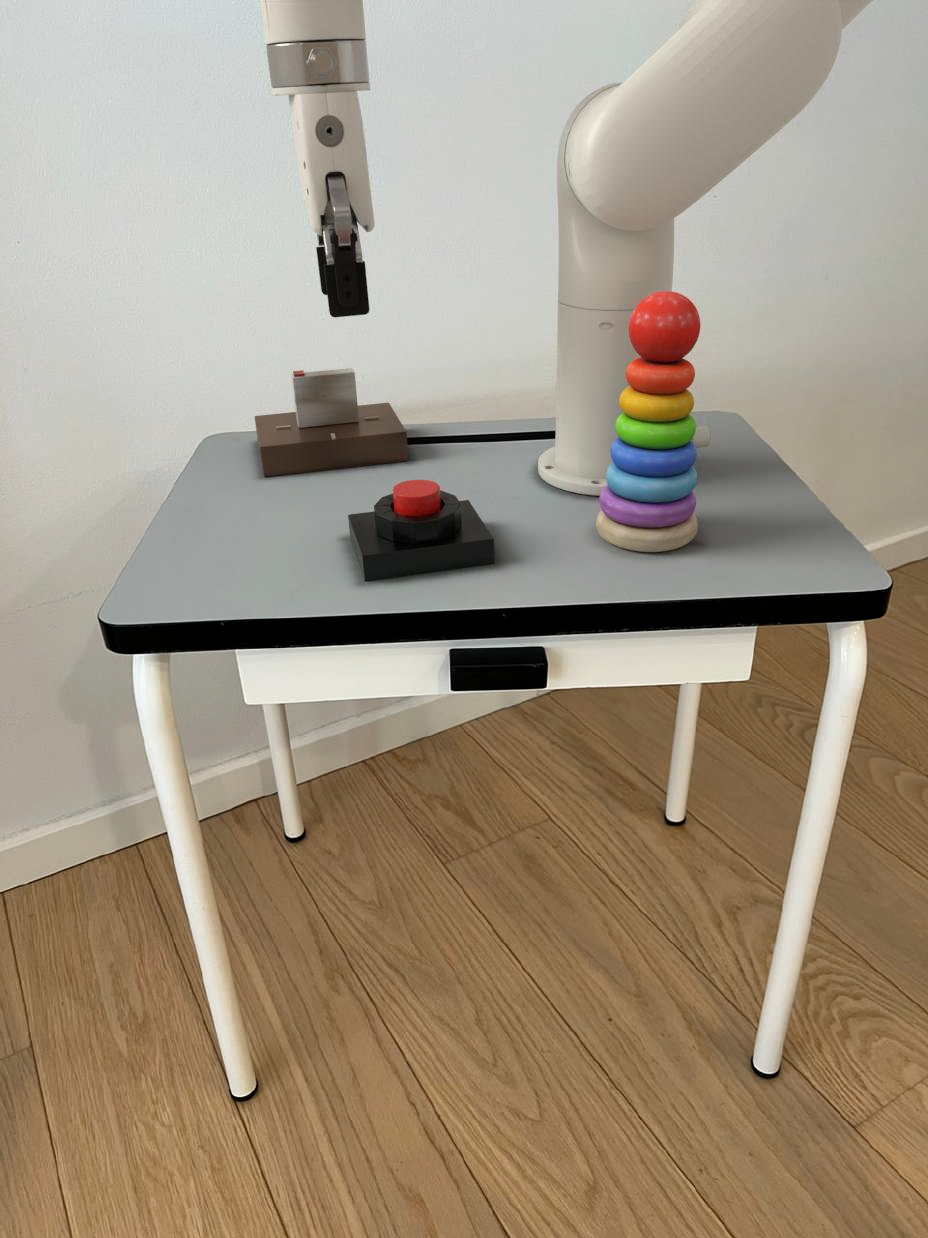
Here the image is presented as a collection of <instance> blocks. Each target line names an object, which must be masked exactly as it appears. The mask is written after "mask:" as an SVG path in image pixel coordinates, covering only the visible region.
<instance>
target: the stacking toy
mask: <svg viewBox="0 0 928 1238" xmlns="http://www.w3.org/2000/svg"><path fill="white" fill-rule="evenodd" d="M700 332H701V318H700V314H699V311H698V309H697V307H696V305H695V304H694V302H693V301H692V300H691V299H689V297H687V296H685V295H683V294H682V293H679V292H676V291H673V290H672V291H662V292H656V293H654V294H651V295H649V296H647V297H646V298H644V299H643V300H642V301H641V302H640V303H639V304H638V305H637V306H636V308H635V309H634V311H633V313H632V315H631V318H630V322H629V337H630V341H631V344H632V346H633V348H634V349H635V351H636V352H637V353H638V354H639V355H640V356H641V357H640V358H637V359H635V360H633V361H632V362H631V363H630V364H629V365H628V367H627V369H626V380H627V382H628V384H629V385H630V386H629V387H627V388H626V389H625V390H624V391H623V392H622V393H621V395H620V398H619V405H620V408H621V410H622V411H623V413H622V414H620V416H619V417H618V418H617V421H616V432H617V435H618V436H619V437H618V438H617V439H616V440H615V441H614V442H613V444H612V446H611V451H610V453H611V458H612V461H613V463H612V464H611V465H610V466H609V468H608V470H607V473H606V481H607V484H608V485H606V486H605V487H604V489H603V490H602V491H601V494H600V496H598V497H599V498H598V503H599V506H600V511H599V512H598V514H597V516H596V520H595V527H596V530H597V532H598V534H599V536H601V538H602V539H604V540H605V541H606V542H608V543H609V544H612V545H613V546H616V547H618V548H622V549H624V550H629V551H633V552H639V553H640V552H641V553H660V552H661V553H662V552H668V551H672V550H677V549H680V548H682V547H684V546H686V545H688V544H689V543H690V542H691V541H692V540H693V539H694V538H695V537H696V535H697V534H698V530H699V523H698V519H697V516H696V515H695V513H694V512H695V510H696V506H697V498H696V495H695V492H693V491H694V489H695V488H696V486H697V484H698V472H697V470H696V468H695V466H694V464H695V462H696V460H697V456H698V454H697V453H698V452H697V448H695V445H694V444H693V443H692V441H691V440H692V438H693V437H694V435H695V431H696V427H697V423H696V420H695V419H694V417H693V416H692V415H691V412H692V411H693V409H694V406H695V399H694V395H693V394H692V392H691V391H690V390H689V387H690V386H692V384H693V382H694V380H695V377H696V370H695V367H694V365H693V364H692V363H691V362H690V361H689V360H687V359H686V358H685V357H686V356H687V355H688V354H689V353H690V352H692V350H693V349H694V347H695V346H696V343H697V342H698V339H699V336H700Z"/></svg>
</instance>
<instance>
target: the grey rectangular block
mask: <svg viewBox="0 0 928 1238" xmlns="http://www.w3.org/2000/svg"><path fill="white" fill-rule="evenodd" d="M290 376H291V384H292V385H291V386H292V392H293V400H294V409H295V412H296V418H297V424H298V428H305V427H314V426H324V425H334V424H343V423H353V422H359V416H358V406H359V405H358V394H357V384H356V383H357V381H356V372H355V371H354V369H353V367H349V368H339V369H338V368H337V369H325V370H316V371H305V370H304V369H302V370H293V371H292V373H291V374H290Z"/></svg>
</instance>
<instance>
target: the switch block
mask: <svg viewBox="0 0 928 1238" xmlns="http://www.w3.org/2000/svg"><path fill="white" fill-rule="evenodd" d="M440 498H441V509H440V511H437V512H435V513H432V514H429V515H421V516H409V515H401V514H398V513H396V512H395V511H394V500H393V492H392V493H390V494H386V495H385V496H382V497H381V498H380V499H379V500H378V501H376V503H375V504H374V505H373V511H367V512H366V511H365V512H361V513H360V512H359V513H358V512H357V513H350V514H348V515H347V518H348V519H347V520H348V529H349V538H350V542H351V545H352V548H353V551H354V554H355V557H356V561H357V563H358V566H359V569H360V571H361V575H362V578H363V580H364V583H367V582H374V581H381V580H388V579H394V578H395V579H397V578H403V577H404V578H405V577H411V576H418V575H425V574H433V573H439V572H440V573H441V572H448V571H454V570H461V569H462V570H463V569H469V568H477V567H482V566H483V567H485V566H490V565H495V538H494V537H493V535H492V533H491V532H490V531H489V529H488V527H487V526H486V524H485V523H484V521H483V520H482V518H481V517H480V515H479V514H478V513H477V510H476V509H475V508H474V506H473V505H472V503H471V502H470V500H469V499H464V500H459V499H458V497H457V496H456V495H455V494H452V493H450V492H446V491H444V490H441V489H440Z"/></svg>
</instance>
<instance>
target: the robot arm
mask: <svg viewBox="0 0 928 1238" xmlns="http://www.w3.org/2000/svg"><path fill="white" fill-rule="evenodd" d="M363 1H364V0H259V2H260V10H261V17H262V18H261V19H262V26H263V35H264V41H265V45H266V46H265V48H266V55H267V63H268V72H269V78H270V80H269V81H270V87H271V95H272V96H273V97H277V96H280V97H281V96H288V103H289V110H290V111H289V112H290V119H291V126H292V127H291V128H292V133H293V134H292V135H293V141H294V148H295V155H296V163H297V169H298V175H299V182H300V187H301V192H302V197H303V201H304V205H305V211H306V214H307V218H308V222H309V224H310V227H311V229H312V231H313V232H314V233H315V234H316V237H317V244H318V246H315V248H316V249H315V250H316V258H317V266H318V274H319V282H320V290H321V294H323V295H324V296H327V304H328V312H329V315H330V316H331V317H332V318H345V317H355V316H365V315H368V314H369V313H370V302H369V301H370V300H369V290H368V279H367V269H366V268H367V267H366V261H365V260H363V250H362V245H361V238H360V233H359V232H360V231H359V226H360V227H361V228H362V229H363V230H364V231H365V232H366V233H370V232H372V231H373V230H374V228H375V226H376V225H375V224H376V223H375V215H374V209H373V208H374V207H373V200H372V191H371V182H370V174H369V172H370V171H369V165H368V163H369V162H368V155H367V146H366V138H365V137H366V136H365V130H364V122H363V117H362V111H361V104H360V101H359V93H358V92H363V91H364V92H365V91H371V82H370V70H369V59H368V47H367V41H366V40H367V34H366V24H365V23H366V22H365V13H364V2H363ZM873 1H874V0H694V1H693V3H692V4H691V6H690V7H689V8H688V9H687V11H686V13H685V15H684V17H683V19H682V21H681V22H680V24H679V27H678V30H677V31H676V32H675V33H674V34H673V35H672V36H671V37H670V38H669V39H667V41H666V42H665V43H664V44H662V46H660V47H659V48H658V49H657V50H656V51H655V52H654V53H653V54H651V56H650V57H648V59H647V60H645V62H643V63H642V64H641V65H640V66H639V67H638V68H637V69H636V70H634V72H633V73H632V74H630V75H629V76H628V77H627V78H626V79H625V80H624V81H621V82H613V83H610V84H607V85H603V86H601V87H599V88H597V89H596V90H593V91H592V92H591V93H589V94H588V95H586V96H585V97H584V98H583V99H582V100H581V101H580V102H579V103H578V104H577V105H576V106H575V108H574V109H573V110H572V112H571V113H570V115H569V116H568V118H567V120H566V121H565V125H564V127H563V129H562V131H561V135H560V138H559V144H558V149H557V159H556V194H557V196H556V197H557V220H558V224H557V225H558V276H557V277H558V279H557V280H558V281H557V283H558V285H557V326H556V327H557V330H556V331H557V332H556V333H557V334H556V379H555V380H556V386H555V387H556V388H555V389H556V390H555V397H556V398H555V435H554V436H555V439H554V440H555V442H554V446H552V447H550V448H548V449H546V450H545V451H544V452H542V454H541V455H540V456H539V458H538V460H537V473H538V475H539V476H540V478H541V479H542V480H543V481H545V482H546V483H547V484H548V485H550V486H553V487H555V488H557V489H559V490H562V491H566V492H570V493H574V494H578V495H586V496H595V497H600V494H601V491H602V490H603V489H604V487H605V486H606V485H608V484H607V481H606V473H607V470H608V468H609V466H610V465H611V464H612V463H613V461H612V458H611V453H610V451H611V446H612V444H613V442H614V441H615V440H616V439H617V438H618V437H619V436H618V435H617V432H616V421H617V418H618V417H619V416H620V414H622V413H623V411H622V410H621V408H620V405H619V398H620V395H621V393H622V392H623V391H624V390H625V389H626V388H627V387H629V386H630V385H629V384H628V382H627V380H626V369H627V367H628V365H629V364H630V363H631V362H632V361H633V360H635V359H637V358H640V357H641V356H640V355H639V354H638V353H637V352H636V351H635V349H634V348H633V346H632V344H631V341H630V337H629V322H630V318H631V315H632V313H633V311H634V309H635V308H636V306H637V305H638V304H639V303H640V302H641V301H642V300H643V299H644V298H646V297H647V296H649V295H651V294H654V293H656V292H662V291H672V292H673V281H674V261H675V260H674V259H675V218H677V217H679V216H680V215H681V214H683V213H684V212H685V211H686V210H688V209H689V208H691V207H692V206H693V205H694V204H696V203H697V202H698V201H699V200H700V199H702V198H703V197H704V196H705V195H706V194H707V193H709V192H710V191H712V189H714V188H715V187H716V186H717V185H718V184H719V183H720V182H722V181H723V180H724V179H725V178H726V177H728V176H729V175H730V174H731V173H732V172H734V171H735V170H736V169H737V168H738V167H739V166H740V165H741V164H743V163H744V162H746V161H747V159H749V158H750V157H751V156H752V155H753V154H754V153H756V152H757V151H758V150H759V149H760V148H761V147H763V146H764V145H765V144H766V143H767V142H768V141H769V140H771V139H772V138H773V137H774V136H775V135H777V134H778V133H779V132H780V131H781V130H782V129H783V128H784V127H785V126H787V125H788V124H790V122H791V121H792V120H793V119H795V118H796V117H797V116H798V115H799V114H800V113H801V112H802V111H803V110H804V109H805V108H806V107H807V106H808V104H809V103H810V102H811V101H812V100H813V99H814V98H815V96H816V95H817V94H818V92H819V91H820V89H821V88H822V87H823V85H824V83H825V82H826V81H827V79H828V77H829V75H830V73H831V72H832V69H833V67H834V65H835V62H836V60H837V57H838V54H839V50H840V46H841V41H842V31H843V29H845V28H846V27H847V26H848V25H849V24H850V23H851V22H852V21H853V20H854V19H855V18H856V17H857V16H858V15H859V14H860V13H862V11H863V10H864V9H865V8H867V7H868V6H869V5H870V4H871V3H872V2H873ZM711 438H712V436H711V430H710V428H709V427H708V425H704V426H696V431H695V435H694V437H693V438H692V440H691V441H692V443H693V444H694V445H695V448H696V449H701V448H707V447H709V446H710V444H711Z"/></svg>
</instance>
